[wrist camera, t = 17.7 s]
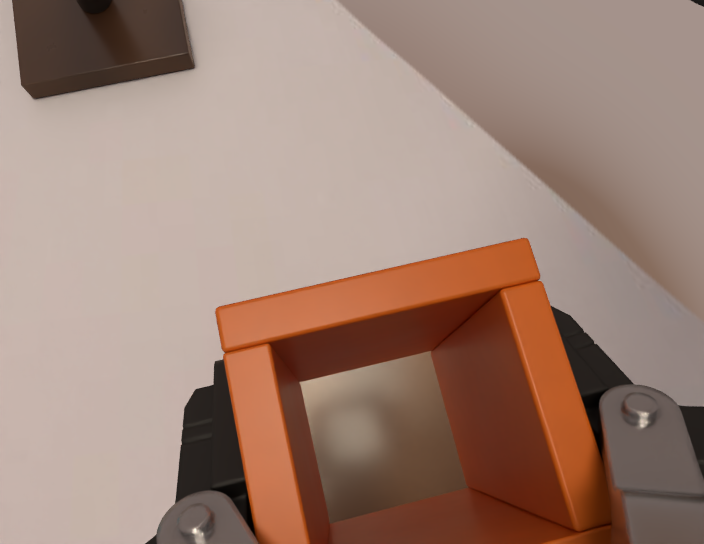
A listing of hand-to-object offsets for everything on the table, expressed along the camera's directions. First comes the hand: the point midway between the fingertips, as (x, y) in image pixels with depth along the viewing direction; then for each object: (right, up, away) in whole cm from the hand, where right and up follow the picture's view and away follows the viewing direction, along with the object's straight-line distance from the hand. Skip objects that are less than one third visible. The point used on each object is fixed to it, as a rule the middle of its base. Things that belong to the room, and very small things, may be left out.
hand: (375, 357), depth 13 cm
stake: (-16, +18, +24) cm, 35 cm away
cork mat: (0, -7, +18) cm, 19 cm away
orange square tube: (0, -3, +4) cm, 5 cm away
